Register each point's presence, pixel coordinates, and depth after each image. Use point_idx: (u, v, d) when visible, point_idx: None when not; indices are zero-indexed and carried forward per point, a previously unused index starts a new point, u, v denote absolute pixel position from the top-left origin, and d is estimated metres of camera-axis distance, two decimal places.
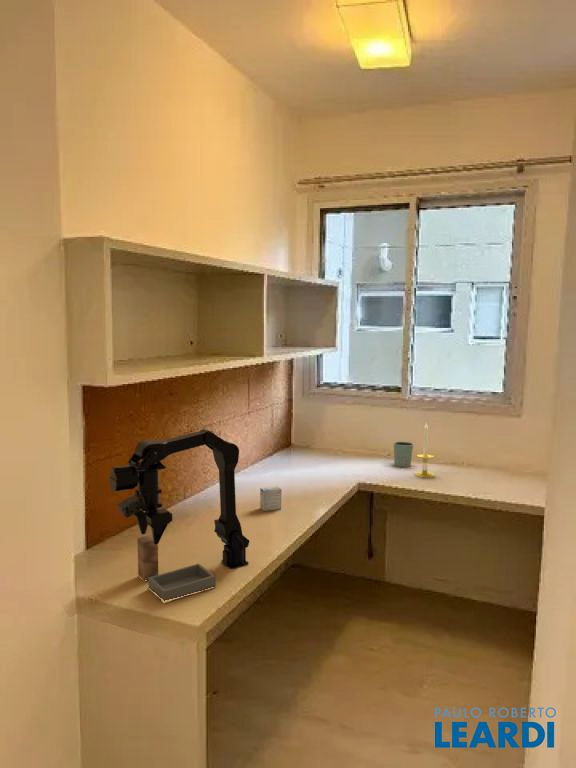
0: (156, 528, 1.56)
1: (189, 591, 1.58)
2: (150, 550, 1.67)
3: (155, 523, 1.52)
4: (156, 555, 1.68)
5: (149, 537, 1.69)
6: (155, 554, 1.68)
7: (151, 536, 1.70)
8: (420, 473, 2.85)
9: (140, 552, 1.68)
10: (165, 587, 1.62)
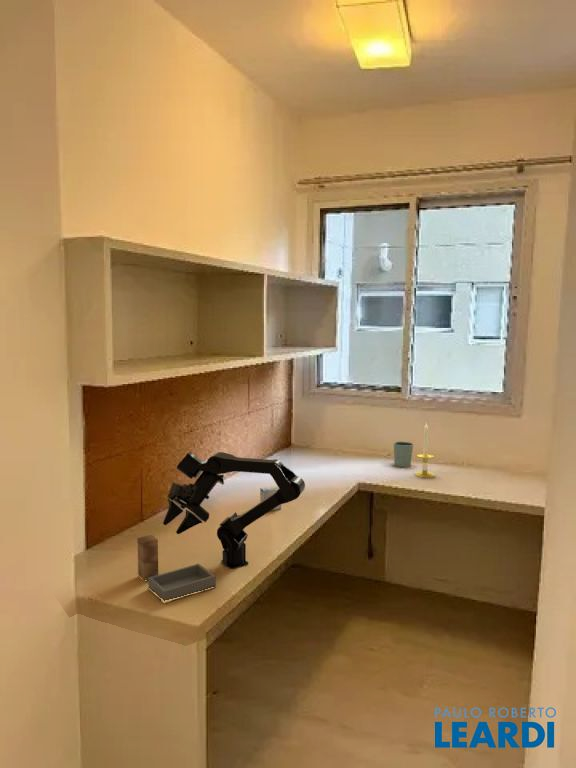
0: (188, 520, 1.70)
1: (189, 591, 1.58)
2: (150, 550, 1.67)
3: (196, 512, 1.67)
4: (156, 555, 1.68)
5: (149, 537, 1.69)
6: (155, 554, 1.68)
7: (151, 536, 1.70)
8: (420, 473, 2.85)
9: (140, 552, 1.68)
10: (165, 587, 1.62)
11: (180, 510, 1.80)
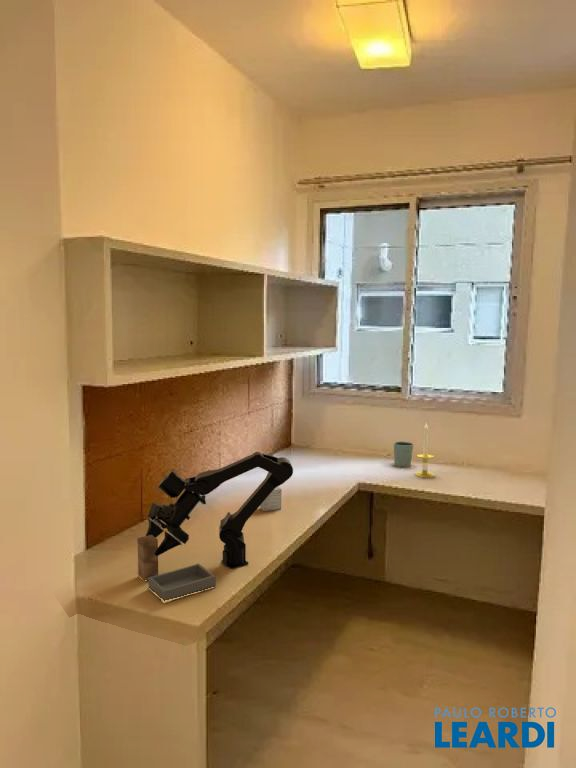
0: (167, 541, 1.66)
1: (189, 591, 1.58)
2: (150, 550, 1.67)
3: (175, 534, 1.63)
4: None
5: (149, 537, 1.69)
6: None
7: (151, 536, 1.70)
8: (420, 473, 2.85)
9: (140, 552, 1.68)
10: (165, 587, 1.62)
11: (160, 530, 1.77)
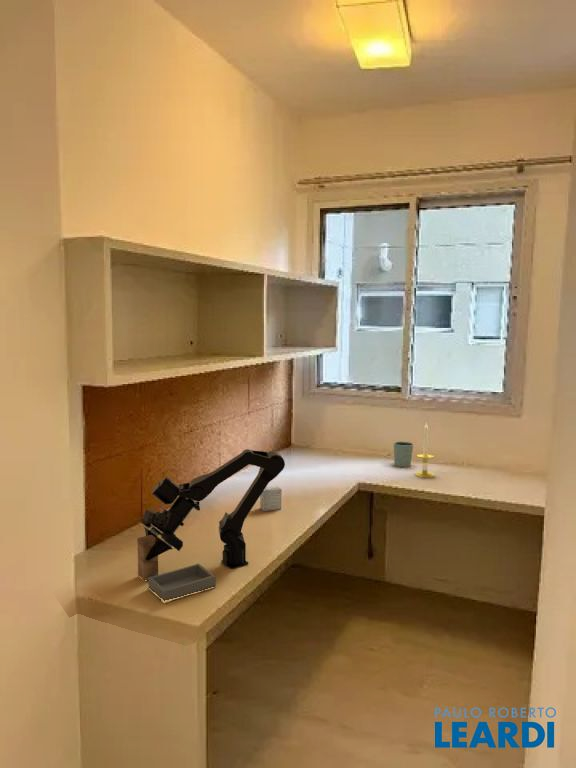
0: (158, 546, 1.67)
1: (189, 591, 1.58)
2: None
3: (168, 541, 1.62)
4: None
5: (149, 537, 1.69)
6: None
7: (151, 536, 1.70)
8: (420, 473, 2.85)
9: (140, 552, 1.68)
10: (165, 587, 1.62)
11: None
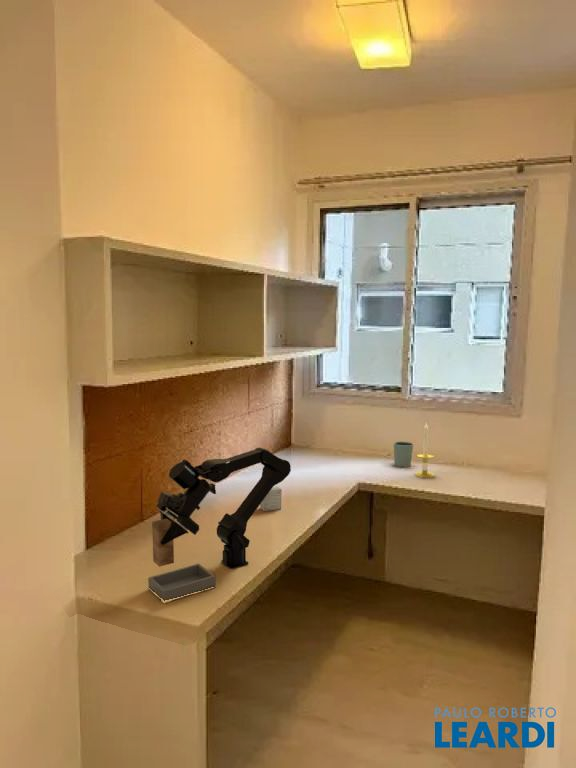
0: (173, 530, 1.61)
1: (189, 591, 1.58)
2: None
3: (184, 524, 1.57)
4: None
5: (164, 521, 1.64)
6: None
7: (166, 520, 1.65)
8: (420, 473, 2.85)
9: (155, 536, 1.62)
10: (165, 587, 1.62)
11: None
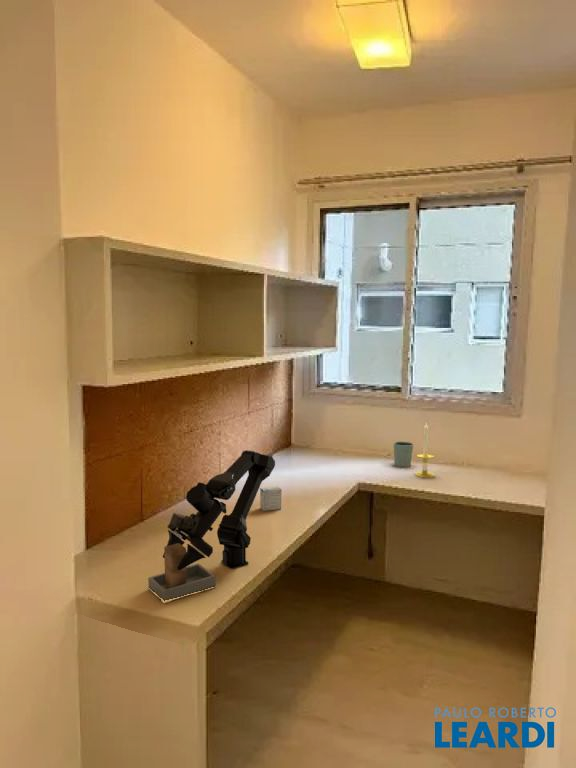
0: (190, 555, 1.57)
1: (189, 591, 1.58)
2: (178, 560, 1.59)
3: (198, 547, 1.54)
4: None
5: (177, 546, 1.61)
6: None
7: (178, 544, 1.62)
8: (420, 473, 2.85)
9: (167, 561, 1.59)
10: (165, 587, 1.62)
11: (181, 542, 1.67)
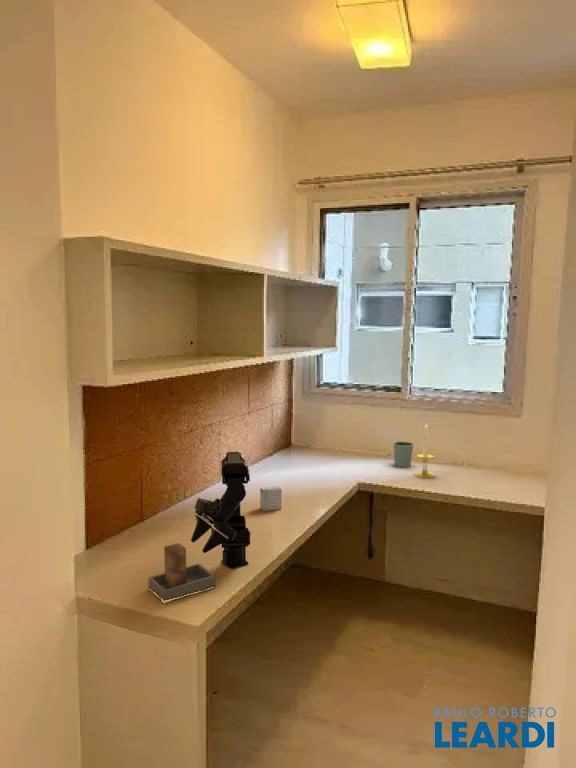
0: (214, 538, 1.62)
1: (189, 591, 1.58)
2: (178, 560, 1.59)
3: (221, 530, 1.59)
4: (184, 565, 1.60)
5: (177, 546, 1.61)
6: (183, 563, 1.60)
7: (178, 544, 1.62)
8: (420, 473, 2.85)
9: (167, 561, 1.59)
10: (165, 587, 1.62)
11: (208, 526, 1.73)
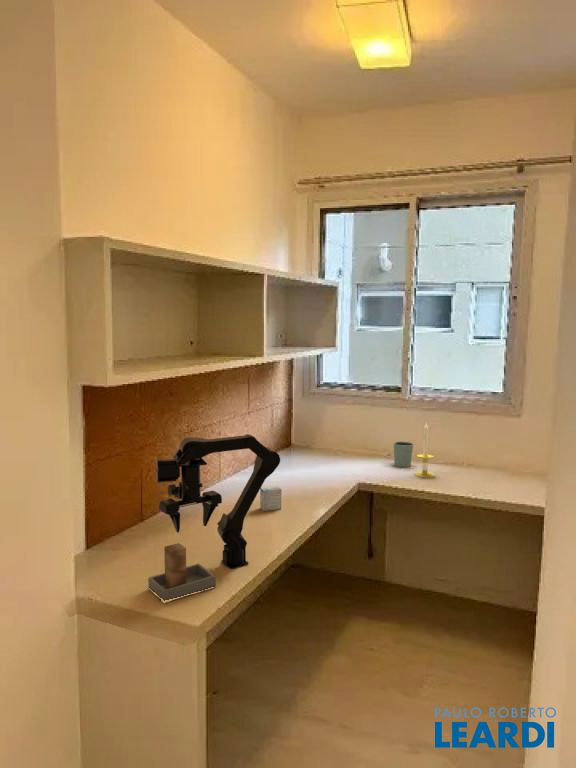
0: (173, 516, 1.70)
1: (189, 591, 1.58)
2: (178, 560, 1.59)
3: (159, 508, 1.69)
4: (184, 565, 1.60)
5: (177, 546, 1.61)
6: (183, 563, 1.60)
7: (178, 544, 1.62)
8: (420, 473, 2.85)
9: (167, 561, 1.59)
10: (165, 587, 1.62)
11: (208, 507, 1.74)
